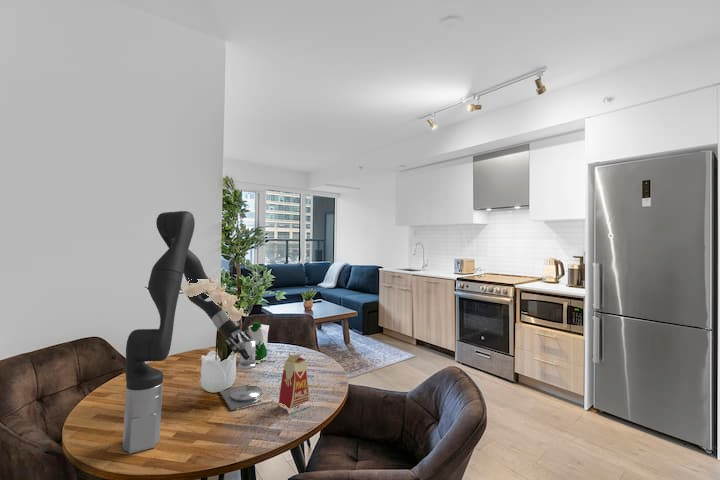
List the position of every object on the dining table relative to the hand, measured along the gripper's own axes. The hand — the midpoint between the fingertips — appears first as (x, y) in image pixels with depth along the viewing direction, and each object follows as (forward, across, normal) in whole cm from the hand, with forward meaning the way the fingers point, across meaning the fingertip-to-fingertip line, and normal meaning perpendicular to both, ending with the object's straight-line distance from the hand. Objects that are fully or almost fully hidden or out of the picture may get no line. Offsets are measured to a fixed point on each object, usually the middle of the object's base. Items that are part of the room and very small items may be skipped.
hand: (252, 355), depth 133 cm
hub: (+2, 0, +4) cm, 5 cm away
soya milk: (0, +40, +24) cm, 46 cm away
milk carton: (+25, -2, -2) cm, 25 cm away
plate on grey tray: (+10, 0, +12) cm, 16 cm away
